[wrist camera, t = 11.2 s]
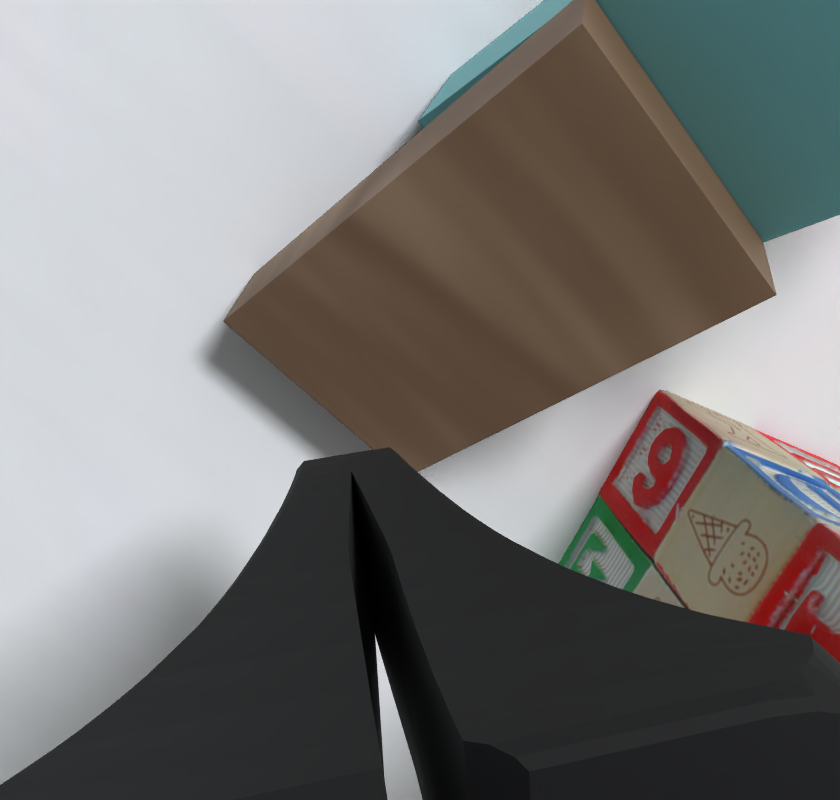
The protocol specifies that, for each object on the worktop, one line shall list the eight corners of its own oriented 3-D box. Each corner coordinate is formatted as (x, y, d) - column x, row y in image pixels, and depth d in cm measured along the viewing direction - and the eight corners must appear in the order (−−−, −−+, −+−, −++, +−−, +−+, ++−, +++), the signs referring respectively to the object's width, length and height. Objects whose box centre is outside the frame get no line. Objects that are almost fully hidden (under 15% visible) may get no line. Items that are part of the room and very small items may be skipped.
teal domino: (580, 308, 15) (1082, 125, 9) (417, 121, 13) (918, -262, 7) (602, 257, 16) (1075, 60, 10) (451, 74, 14) (927, -305, 8)
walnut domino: (406, 478, 16) (776, 294, 11) (222, 321, 14) (581, 23, 9) (420, 425, 17) (762, 239, 12) (253, 273, 15) (586, -12, 10)
